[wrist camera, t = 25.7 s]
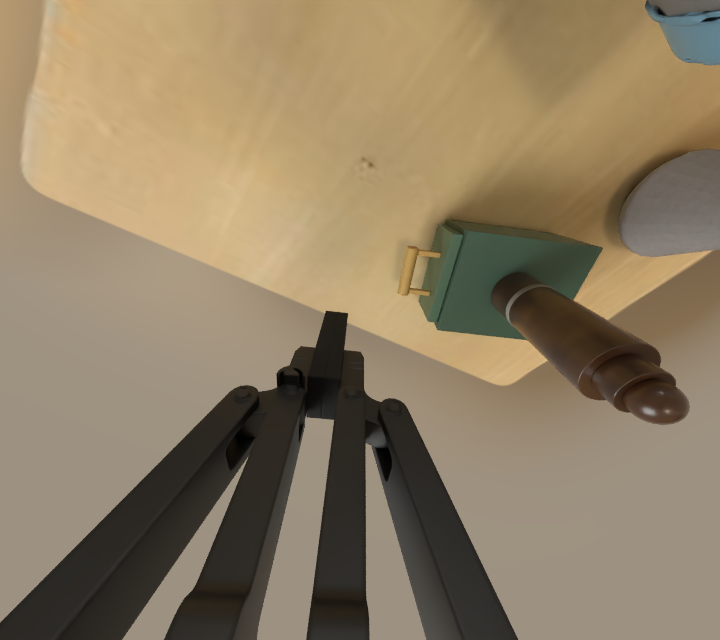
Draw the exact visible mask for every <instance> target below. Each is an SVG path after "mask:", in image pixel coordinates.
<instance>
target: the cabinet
mask: <svg viewBox="0 0 720 640" xmlns="http://www.w3.org/2000/svg"><path fill="white" fill-rule="evenodd" d="M445 225H447V226H449V227H451V228H452V229H454V230H456V231H458V232H459V233H461V234H463V237H464V238H463V242H462V245H461V248H460V251H459V255H458V258H457V261H456V264H455V268H454V271H453V274H452V277H451V281H450V284H449V287H448V290H447V294H446V297H445V300H444V303H443V307H441V311H440V314H439V317H438V320H437V322H434V323H435V325H436V328H437V330H441V331H450V332H459V333H468V334H477V335H486V336H495V337H504V338H513V339H522V340H527V339H526V338H525V337H524V336H523V335H522V334H521V333H520V332H519V331H518V330H517V329H516V328H514V327H513V326H512V325H511V324H510V323H509V322H508V320H507V319H506V318H505V317H504V316H503V315H502V314H501V313H499V312H498V311H497V310H496V309H495V308H494V306H493V305H492V303H491V292H492V290H493V288H494V286H495V285H496V283H497V282H498V281H499V280H500V279H502V278H503V277H505V276H507V275H509V274H512V273H516V272H523V273H527V274H529V275H531V276H532V277H534V278H536V279H538V280H539V281H541V282H543V283H544V284H546V285H549V286H551V287H552V288H554V289H556V290H557V291H558V292H560V293H562V294H563V295H565V296H567V297H569V298H570V299H572V300H573V299H574V298H575V296H576V294H577V293H578V291H579V289H580V287H581V286H582V284H583V282H584V280H585V279H586V277H587V275H588V273H589V272H590V270H591V268H592V266H593V265H594V263H595V261H596V260H597V258H598V256H599V254H600V253H601V251H602V249H603V248H601V247H598V246H595V245H591V244H588V243H584V242H581V241H577V240H574V239H570V238H567V237H564V236H560V235H557V234H553V233H545V232H538V231H530V230H523V229H515V228H507V227H500V226H492V225H485V224H477V223H470V222H462V221H454V220H446V224H445Z"/></svg>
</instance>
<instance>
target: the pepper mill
mask: <svg viewBox="0 0 720 640" xmlns="http://www.w3.org/2000/svg"><path fill="white" fill-rule="evenodd" d="M491 303H492V305H493V306H494V308H495V309H496V310H497V311H498V312H499V313H501V314H502V315H503V316H504V317H505V318H506V319H507V320H508V322H509V323H510V324H511V325H512V326H513V327H514V328H516V329H517V330H518V331H519V332H520V333H521V334H522V335H523V336H524V337H525V338H526V339H527V340H528V341H529V342H530V343H531V344H532V345H533V346H534V347H535V348H536V349H537V350H538V351H539V352H540V353H541V354H542V355H543V356H544V357H545V358H546V359H547V360H548V361H549V362H550V363H551V364H552V365H553V366H554V367H555V368H556V369H557V370H558V371H559V372H560V373H561V374H562V375H563V376H564V377H566V378H567V379H568V380H569V381H570V382H571V383H572V384H573V385H574V386H575V387H576V388H577V389H578V390H579V391H580V392H581V393H582V394H583V395H584V396H586V397H588V398H591V399H594V400H607V401H608V402H610V403H611V404H612V405H613V406H614V407H615V408H616V409H618V410H620V411H623V412H631V413H632V414H633V415H635V416H636V417H638V418H640V419H642V420H644V421H647V422H649V423H653V424H660V425H666V424H673V423H676V422H679V421H681V420H682V419H684V418H685V417H686V416H687V414H688V412H689V407H690V406H689V401H688V399H687V397H686V396H685V394H684V393H683V392H682V391H681V390H680V389H678V388H677V387H676V380H675V378H674V377H673V376H672V375H671V374H670V373H668V372H666V371H665V370H663V369H662V368H660V363H661V356H660V353H659V352H658V350H657V349H656V348H655V347H653V346H651V345H649V344H648V343H646V342H644V341H643V340H641V339H639V338H637V337H636V336H634V335H632V334H631V333H629V332H627V331H625V330H624V329H622V328H620V327H618V326H617V325H615V324H613V323H611V322H610V321H608V320H606V319H605V318H603V317H601V316H600V315H598V314H596V313H594V312H593V311H591V310H589V309H588V308H586V307H584V306H582V305H581V304H579V303H577V302H575V301H574V300H572V299H570V298H569V297H567V296H565V295H563V294H562V293H560V292H558V291H557V290H556V289H554V288H552V287H551V286H549V285H546V284H544V283H543V282H541V281H539V280H538V279H536V278H534V277H532V276H531V275H529V274H527V273H523V272H516V273H512V274H509V275H507V276H505V277H503V278H502V279H500V280H499V281H498V282H497V283H496V285H495V286H494V288H493V290H492V292H491Z"/></svg>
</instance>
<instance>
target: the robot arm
mask: <svg viewBox="0 0 720 640" xmlns="http://www.w3.org/2000/svg"><path fill="white" fill-rule="evenodd" d="M645 7H646V10H647V13H648V15H649V16H650V17H651V18H652V19H653V20H654V21H656V22H659V24H660V26H661V28H662V31H663V33H664V35H665V37H666V39H667V41H668V43H669V45H670V47H671V50H672V51H673V53H674V54H675V55H676V56H677V57H678V58H679V59H680V60H682V61H684V62H688V63H699V64H700V63H702V64H704V65H720V0H647V1H646V5H645ZM347 317H348V313H341V312H332V311H326V313H325V316H324V320H323V323H322V327H321V330H320V334H319V338H318V341H317V344H316V348H312V347H302V346H301V347H300V348H298V350H296V351H295V353H294V356H293V358H292V361H291V363H290V366H287V367H283V368H282V369H280V370H279V371H278V372H277V388H275V389H272V390H268V391H262V392H258V390H257V389H256V388H255V387H253V386H248V385H247V386H246V385H245V386H240V387H237V388H235V389H233V390H232V391H230V392H229V393H228V394H227V395H226V396H225V398H223V399H222V400H221V402H219V403H218V404H217V405H216V406H215V407H214V408H213V409H212V411H210V412H209V414H207V416H205V418H203V419H202V421H200V423H198V424H197V425H196V426H195V427H194V428H193V430H192V431H190V433H189V434H187V436H185V438H184V439H183V440H182V441H181V442H180V443H179V444H178V445H177V446H176V447H175V448H174V449H173V450H172V451H171V452H170V453H169V454H168V455H167V456H166V457H165V458H164V459H163V460H162V461H161V462H160V463H159V464H158V465H157V466H156V467H155V468H154V469H153V470H152V471H151V472H150V473H149V474H148V475H147V476H146V477H145V478H144V479H143V480H142V481H141V482H140V483H139V484H138V485H137V486H136V487H135V488H134V489H133V490H132V491H131V492H130V493H129V494H128V495H127V496H126V497H125V498H124V499H123V500H122V501H121V502H120V503H119V504H118V505H117V506H116V507H115V508H114V509H113V510H112V511H111V512H110V513H109V514H108V515H107V516H106V517H105V518H104V519H103V520H102V521H101V522H100V523H99V524H98V525H97V526H96V527H95V528H94V529H93V530H92V531H91V532H90V533H89V534H88V535H87V536H86V537H85V538H84V539H83V540H82V541H81V542H80V543H79V544H78V545H77V546H76V547H75V548H74V549H73V550H72V551H71V552H70V553H69V554H68V555H67V556H66V557H65V558H64V559H63V560H62V561H61V562H60V563H59V564H58V565H57V566H56V567H55V568H54V569H53V570H52V571H51V572H50V573H49V574H48V575H47V576H46V577H45V578H44V579H43V581H41V582H40V583H39V584H38V585H37V587H35V588H34V590H32V591H31V592H30V593H29V594H28V595H27V596H26V597H25V598H24V599H23V601H21V603H19V604H18V605H17V607H15V608H14V609H13V611H11V612H10V614H8V616H7V617H5V618H4V620H3V621H1V623H0V640H122V639H123V637H124V636H125V635H126V633H127V632H128V630H129V629H130V627H131V626H132V624H133V623H134V622H135V620H136V619H137V617H138V616H139V614H140V613H141V611H142V610H143V608H144V607H145V606H146V604H147V603H148V601H149V600H150V598H151V597H152V595H153V594H154V593H155V591H156V590H157V588H158V587H159V585H160V584H161V582H162V581H163V579H164V578H165V576H166V575H167V573H168V572H169V571H170V569H171V568H172V566H173V565H174V563H175V562H176V561H177V559H178V557H179V556H180V554H181V553H182V552H183V550H184V549H185V547H186V546H187V544H188V543H189V542H190V540H191V539H192V537H193V536H194V534H195V533H196V531H197V530H198V528H199V527H200V526H201V524H202V523H203V521H204V519H205V518H206V516H207V515H208V514H209V513H210V511H211V510H212V508H213V507H214V505H215V504H216V502H217V501H218V499H219V498H220V497H221V495H222V494H223V492H224V491H225V489H226V488H227V486H228V485H229V483H230V482H231V480H232V479H233V478H234V476H235V474H236V473H237V472H238V470H239V469H240V467H241V466H242V465H243V463H244V462H245V460H246V459H247V457H248V456H249V457H248V460H247V462H246V464H245V467H244V469H243V472H242V474H241V477H240V479H239V481H238V484H237V486H236V489H235V491H234V494H233V496H232V499H231V501H230V503H229V506H228V508H227V511H226V513H225V516H224V518H223V521H222V523H221V525H220V528H219V530H218V533H217V535H216V538H215V540H214V542H213V545H212V547H211V550H210V552H209V555H208V557H207V559H206V562H205V564H204V567H203V569H202V572H201V574H200V577H199V579H198V581H197V583H196V585H195V587H194V589H193V590H192V591H191V592H190V593H189V594H188V595H187V596H186V597H185V598H184V600H183V602H182V603H181V605H180V606H179V608H178V610H177V612H176V614H175V616H174V618H173V621H172V623H171V625H170V627H169V630H168V632H167V634H166V637H165V639H164V640H257V632H258V625H259V620H260V615H261V611H262V607H263V602H264V598H265V593H266V590H267V585H268V581H269V577H270V573H271V568H272V564H273V560H274V555H275V551H276V546H277V543H278V539H279V534H280V530H281V526H282V521H283V517H284V513H285V508H286V504H287V500H288V496H289V492H290V487H291V483H292V479H293V474H294V470H295V466H296V462H297V457H298V453H299V448H300V445H301V440H302V436H303V432H304V428H305V416H306V413H307V417H310V418H322V419H332V420H334V426H333V434H332V443H331V450H330V459H329V466H328V474H327V483H326V491H325V498H324V506H323V515H322V522H321V530H320V538H319V546H318V555H317V562H316V570H315V578H314V586H313V594H312V601H311V608H310V615H309V623H308V631H307V639H306V640H369V615H368V614H369V613H368V606H367V601H366V510H365V509H366V505H365V504H366V500H365V499H366V496H365V493H366V490H365V489H366V486H365V484H366V483H365V482H366V480H365V443H367V444H369V445H372V449H373V453H374V457H375V460H376V464H377V467H378V470H379V474H380V477H381V481H382V485H383V488H384V492H385V495H386V499H387V502H388V506H389V509H390V513H391V516H392V520H393V523H394V527H395V530H396V534H397V537H398V541H399V544H400V548H401V552H402V555H403V559H404V562H405V565H406V569H407V573H408V576H409V580H410V583H411V586H412V590H413V594H414V597H415V601H416V604H417V608H418V611H419V615H420V618H421V622H422V625H423V629H424V632H425V636H426V640H518V638H517V636H516V634H515V632H514V630H513V628H512V626H511V624H510V622H509V620H508V618H507V615H506V613H505V611H504V609H503V607H502V605H501V603H500V601H499V599H498V597H497V595H496V592H495V590H494V588H493V586H492V584H491V582H490V580H489V578H488V576H487V574H486V572H485V569H484V567H483V565H482V563H481V561H480V559H479V557H478V555H477V553H476V551H475V549H474V546H473V544H472V542H471V540H470V538H469V536H468V534H467V532H466V530H465V528H464V526H463V524H462V521H461V520H460V517H459V515H458V513H457V511H456V509H455V507H454V505H453V503H452V500H451V498H450V496H449V494H448V492H447V490H446V488H445V486H444V484H443V482H442V480H441V478H440V475H439V473H438V471H437V469H436V467H435V465H434V463H433V461H432V459H431V457H430V455H429V453H428V451H427V449H426V447H425V444H424V442H423V440H422V438H421V436H420V434H419V432H418V430H417V427H416V425H415V423H414V421H413V419H412V417H411V415H410V413H409V411H408V409H407V407H406V406H405V404H404V403H402V402H401V401H399V400H396V399H390V398H389V399H385V400H383V401H382V402H379V401H376V400H374V399H372V398H370V397H369V396H368V395H367V394H366V393H365V391H364V357H363V355H362V354H361V352H357V351H346V350H344V345H345V336H346V327H347ZM249 454H250V455H249Z"/></svg>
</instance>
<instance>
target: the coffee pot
mask: <svg viewBox="0 0 720 640" xmlns="http://www.w3.org/2000/svg"><path fill="white" fill-rule="evenodd" d="M618 233H619V236H620V239H621V241H622V242H623V243H624V245H625V246H626V247H627V248H628V249H629V250H630V251H632V252H634V253H636V254H638V255H640V256H649V257H659V256H667V255H675V254H684V253H692V252H701V251H709V250H718V249H720V150H716V149H703V150H698V151H692V152H689V153H686V154H684V155H682V156H679V157H677V158H675V159H672V160H670V161H668V162H666V163H664V164H663V165H661V166H660V167H658V168H657V169H655V170H654V171H652V172H651V173H650V174H648V175H647V176H646V177H645V178H644V179H643V180H642V181H641V182H640V183H639V184H638V185H637V186H636V187H635V188H634V190H633V191H632V192H631V193H630V195H629V196H628V197H627V199H626V201H625V202H624V204H623V206H622V209H621V212H620V216H619V220H618Z"/></svg>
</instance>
